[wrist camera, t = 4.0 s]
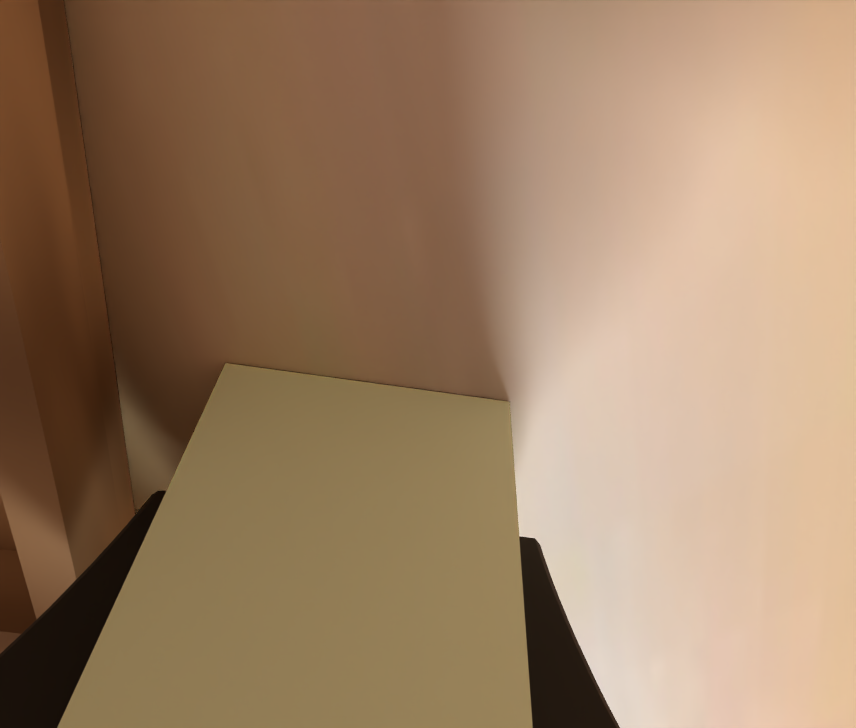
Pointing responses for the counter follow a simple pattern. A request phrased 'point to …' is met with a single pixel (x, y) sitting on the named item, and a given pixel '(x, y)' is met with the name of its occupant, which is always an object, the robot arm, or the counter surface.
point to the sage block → (323, 568)
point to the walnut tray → (50, 332)
